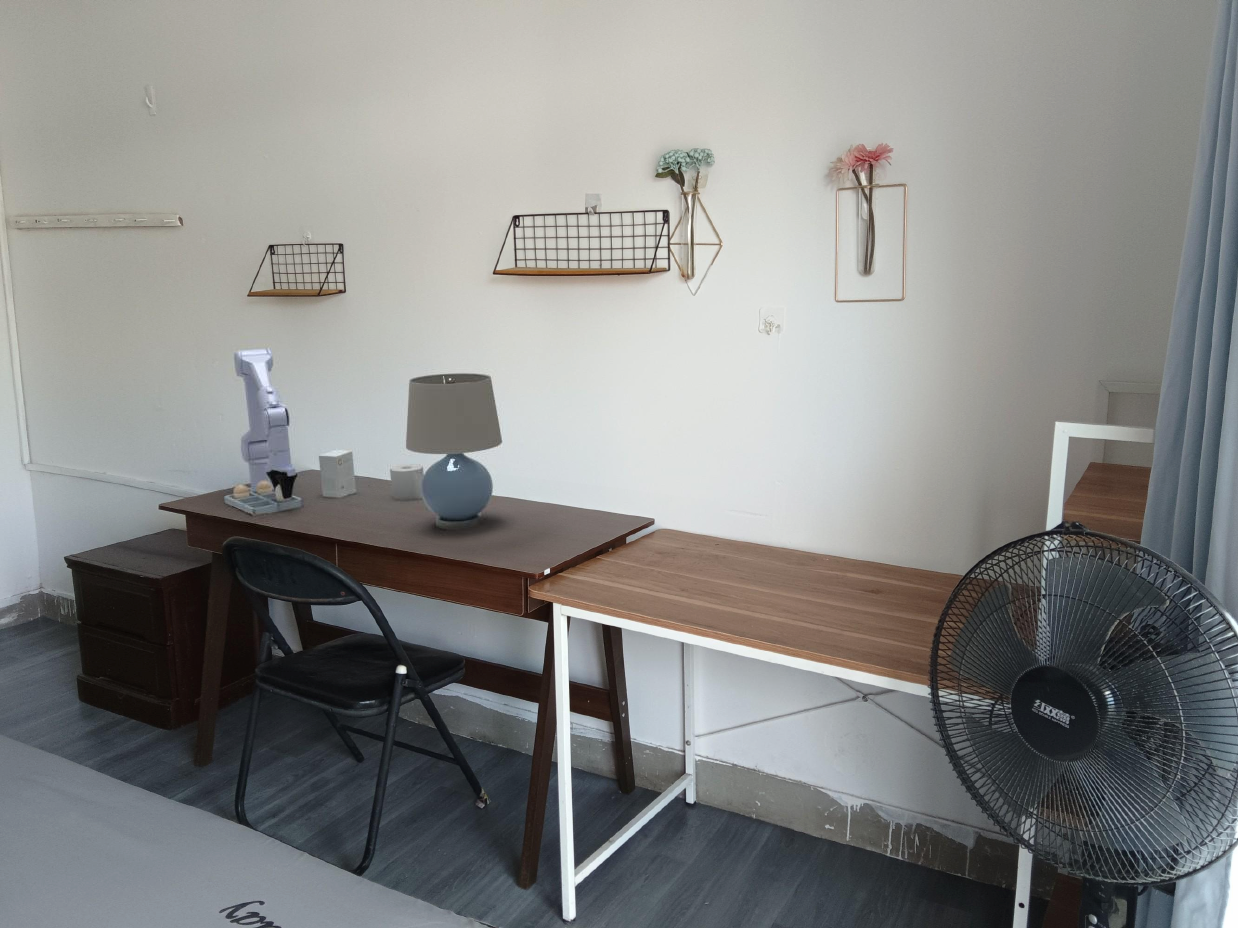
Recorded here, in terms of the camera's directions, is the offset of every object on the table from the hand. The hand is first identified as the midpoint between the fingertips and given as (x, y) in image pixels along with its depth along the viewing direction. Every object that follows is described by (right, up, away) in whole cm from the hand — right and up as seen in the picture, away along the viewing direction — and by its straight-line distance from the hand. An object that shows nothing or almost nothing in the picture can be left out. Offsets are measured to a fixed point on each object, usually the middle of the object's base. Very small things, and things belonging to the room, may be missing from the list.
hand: (283, 496), depth 266 cm
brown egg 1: (-14, -2, +6) cm, 15 cm away
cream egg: (0, -1, 0) cm, 2 cm away
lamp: (+53, -7, -18) cm, 56 cm away
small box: (+12, 0, +14) cm, 18 cm away
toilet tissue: (+34, 0, +11) cm, 36 cm away
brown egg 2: (-9, -1, +10) cm, 14 cm away
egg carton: (-7, -3, +3) cm, 8 cm away
